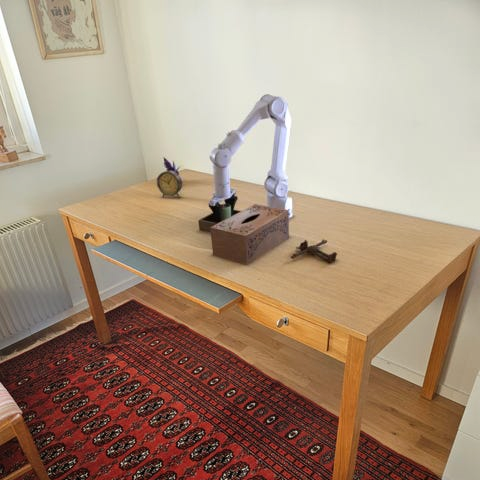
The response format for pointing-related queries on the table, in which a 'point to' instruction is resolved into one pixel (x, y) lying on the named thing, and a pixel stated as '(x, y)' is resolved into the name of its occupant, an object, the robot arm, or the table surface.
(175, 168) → the creature
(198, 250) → the table surface
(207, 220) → the basket
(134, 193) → the table surface
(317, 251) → the brown figurine
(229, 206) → the pen cup
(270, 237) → the tissue box cover
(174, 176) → the alarm clock
